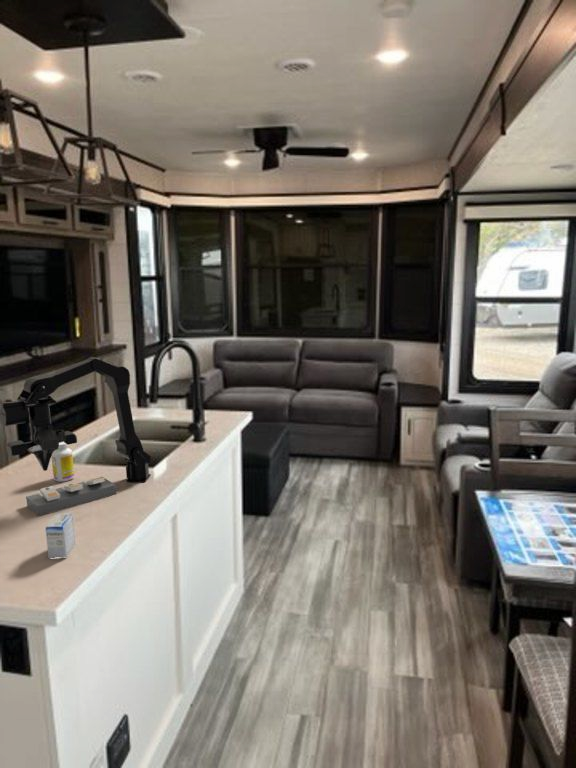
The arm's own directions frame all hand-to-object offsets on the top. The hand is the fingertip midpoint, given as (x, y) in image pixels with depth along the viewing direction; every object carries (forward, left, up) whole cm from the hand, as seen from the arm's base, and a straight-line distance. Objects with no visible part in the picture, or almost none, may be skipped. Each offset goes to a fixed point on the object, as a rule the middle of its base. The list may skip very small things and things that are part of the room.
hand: (45, 470), depth 171 cm
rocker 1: (-2, +2, -7) cm, 7 cm away
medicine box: (-18, +29, -11) cm, 35 cm away
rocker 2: (-12, -8, -7) cm, 16 cm away
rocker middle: (-7, -3, -7) cm, 10 cm away
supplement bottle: (+5, -22, -11) cm, 26 cm away
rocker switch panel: (-6, -4, -11) cm, 13 cm away
